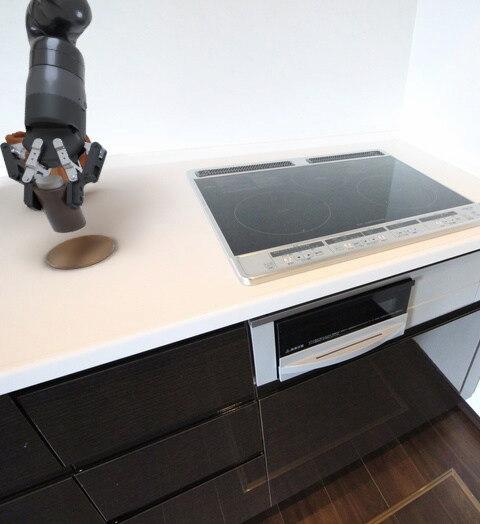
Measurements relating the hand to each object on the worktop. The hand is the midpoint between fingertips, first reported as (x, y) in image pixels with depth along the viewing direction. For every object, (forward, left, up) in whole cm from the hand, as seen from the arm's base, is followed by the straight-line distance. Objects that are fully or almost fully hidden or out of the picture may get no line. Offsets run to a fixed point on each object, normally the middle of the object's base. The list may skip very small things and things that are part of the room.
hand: (54, 208), depth 55 cm
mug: (0, +26, -10) cm, 27 cm away
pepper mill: (+1, +2, -4) cm, 5 cm away
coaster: (+1, +2, -9) cm, 10 cm away
